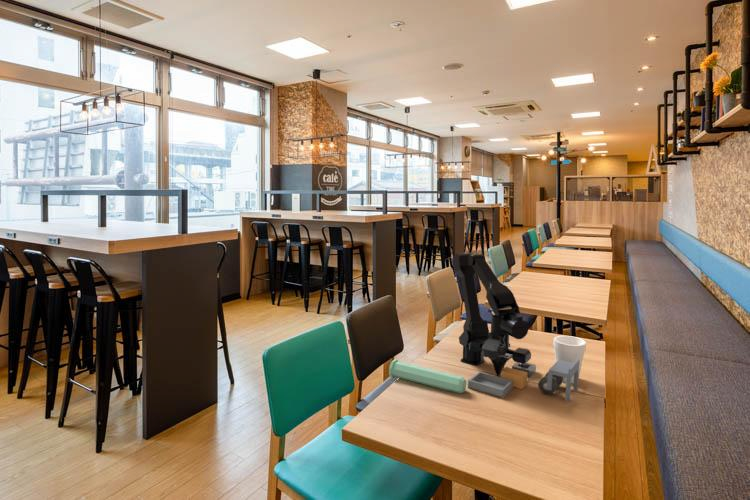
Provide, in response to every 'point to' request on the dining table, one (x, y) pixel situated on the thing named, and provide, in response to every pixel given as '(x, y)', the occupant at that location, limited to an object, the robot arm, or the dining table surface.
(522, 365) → the pin
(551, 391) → the grey wheeled cart
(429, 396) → the dining table surface
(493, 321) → the robot arm
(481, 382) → the tray
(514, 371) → the block
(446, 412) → the dining table surface
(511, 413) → the dining table surface
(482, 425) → the dining table surface
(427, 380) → the container
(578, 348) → the foam cup
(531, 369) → the pin bracket
